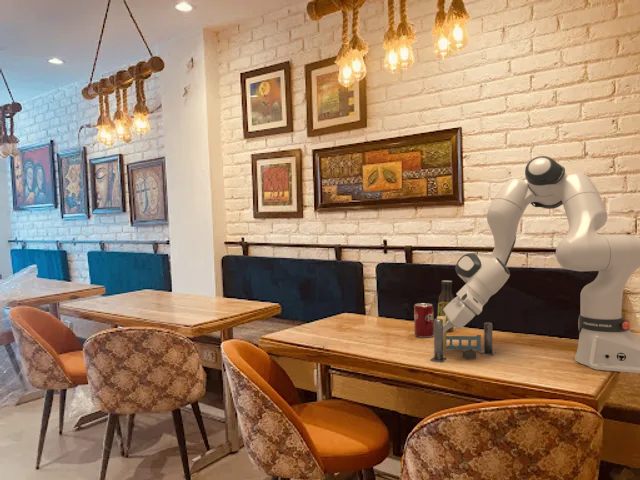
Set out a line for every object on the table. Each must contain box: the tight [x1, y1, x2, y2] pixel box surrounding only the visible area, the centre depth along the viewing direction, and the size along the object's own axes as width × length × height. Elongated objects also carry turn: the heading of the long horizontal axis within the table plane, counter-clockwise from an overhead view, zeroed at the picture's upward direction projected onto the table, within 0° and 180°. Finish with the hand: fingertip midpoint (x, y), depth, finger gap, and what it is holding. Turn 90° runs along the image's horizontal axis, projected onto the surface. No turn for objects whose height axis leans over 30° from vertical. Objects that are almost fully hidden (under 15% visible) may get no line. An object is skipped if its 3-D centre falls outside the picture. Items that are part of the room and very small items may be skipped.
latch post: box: [430, 318, 448, 363], centre depth 164 cm, size 4×4×13 cm
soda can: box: [413, 302, 435, 339], centre depth 196 cm, size 7×7×12 cm
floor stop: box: [461, 350, 477, 361], centre depth 165 cm, size 4×2×2 cm, turn 110°
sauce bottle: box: [437, 280, 455, 333], centre depth 203 cm, size 7×6×20 cm
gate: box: [436, 315, 482, 352], centre depth 171 cm, size 14×3×11 cm, turn 81°
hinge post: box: [479, 321, 497, 356], centre depth 170 cm, size 4×4×10 cm
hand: (440, 329), depth 172 cm, fingers open, 4 cm apart
